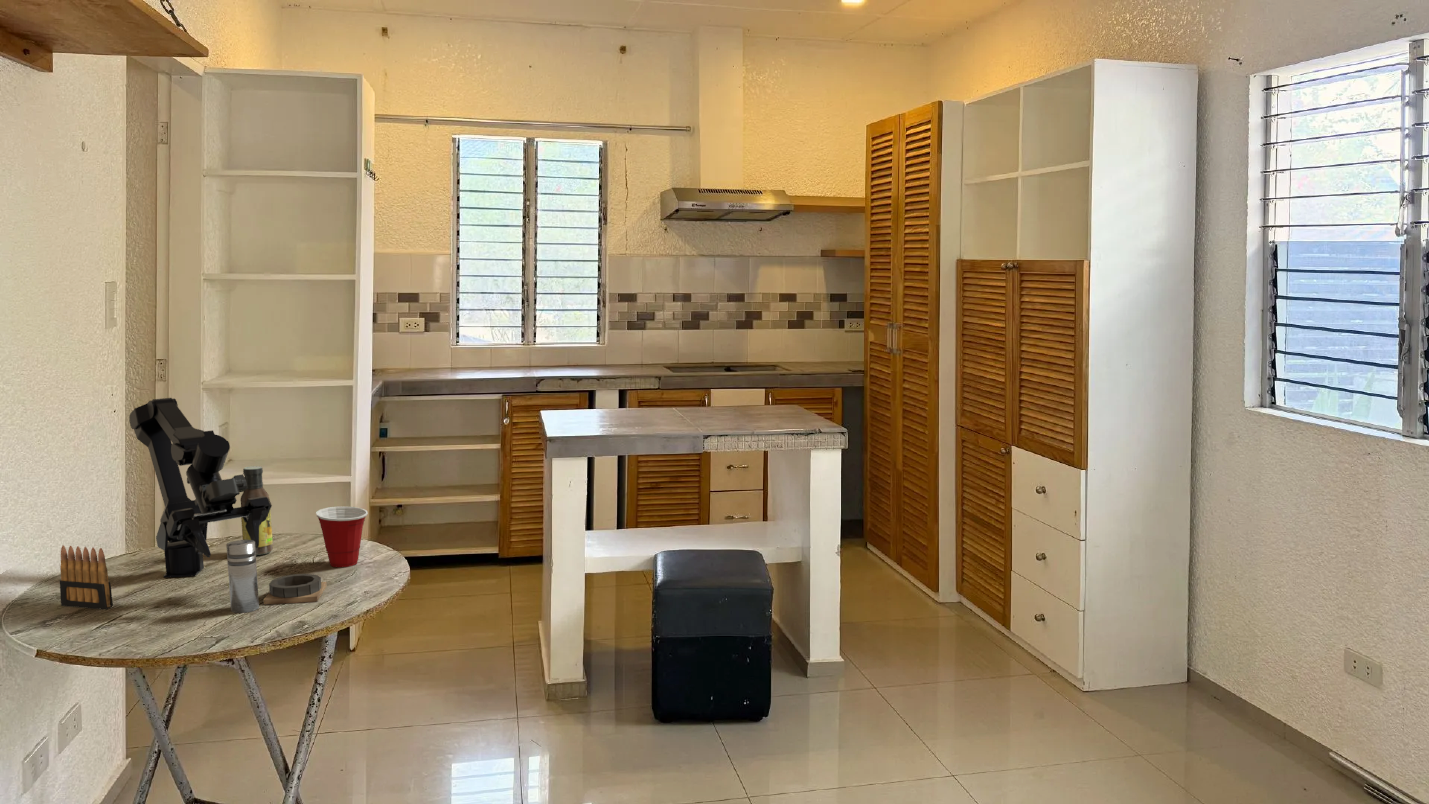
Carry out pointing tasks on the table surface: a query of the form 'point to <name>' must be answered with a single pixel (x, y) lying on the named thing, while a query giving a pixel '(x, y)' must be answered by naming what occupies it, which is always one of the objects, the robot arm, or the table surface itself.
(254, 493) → the sauce bottle
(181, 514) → the robot arm
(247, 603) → the cylinder
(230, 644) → the table surface
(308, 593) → the collar
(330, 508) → the plastic cup
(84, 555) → the ammunition clip
